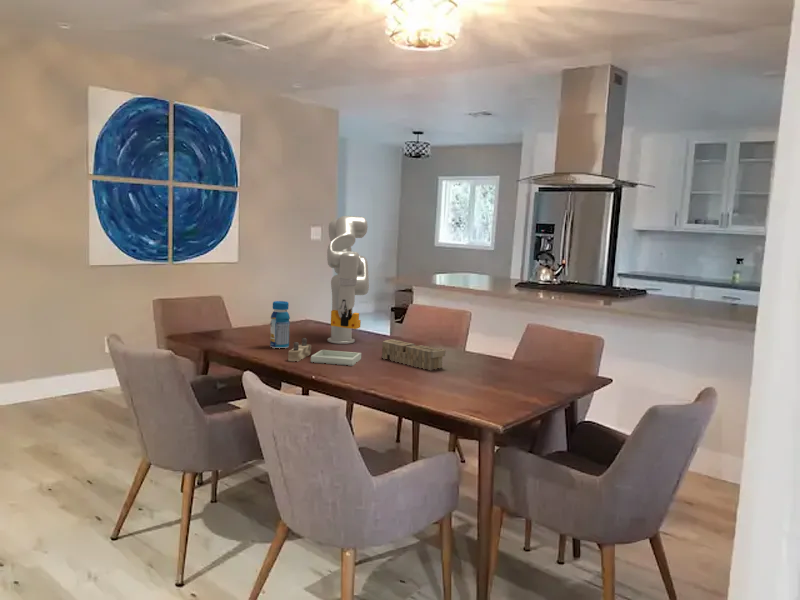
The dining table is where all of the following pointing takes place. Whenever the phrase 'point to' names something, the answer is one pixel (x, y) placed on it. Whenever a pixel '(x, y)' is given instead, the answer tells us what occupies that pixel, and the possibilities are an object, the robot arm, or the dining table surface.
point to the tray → (336, 357)
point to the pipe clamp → (352, 323)
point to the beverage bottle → (280, 325)
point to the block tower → (412, 354)
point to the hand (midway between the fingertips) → (346, 324)
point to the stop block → (299, 351)
